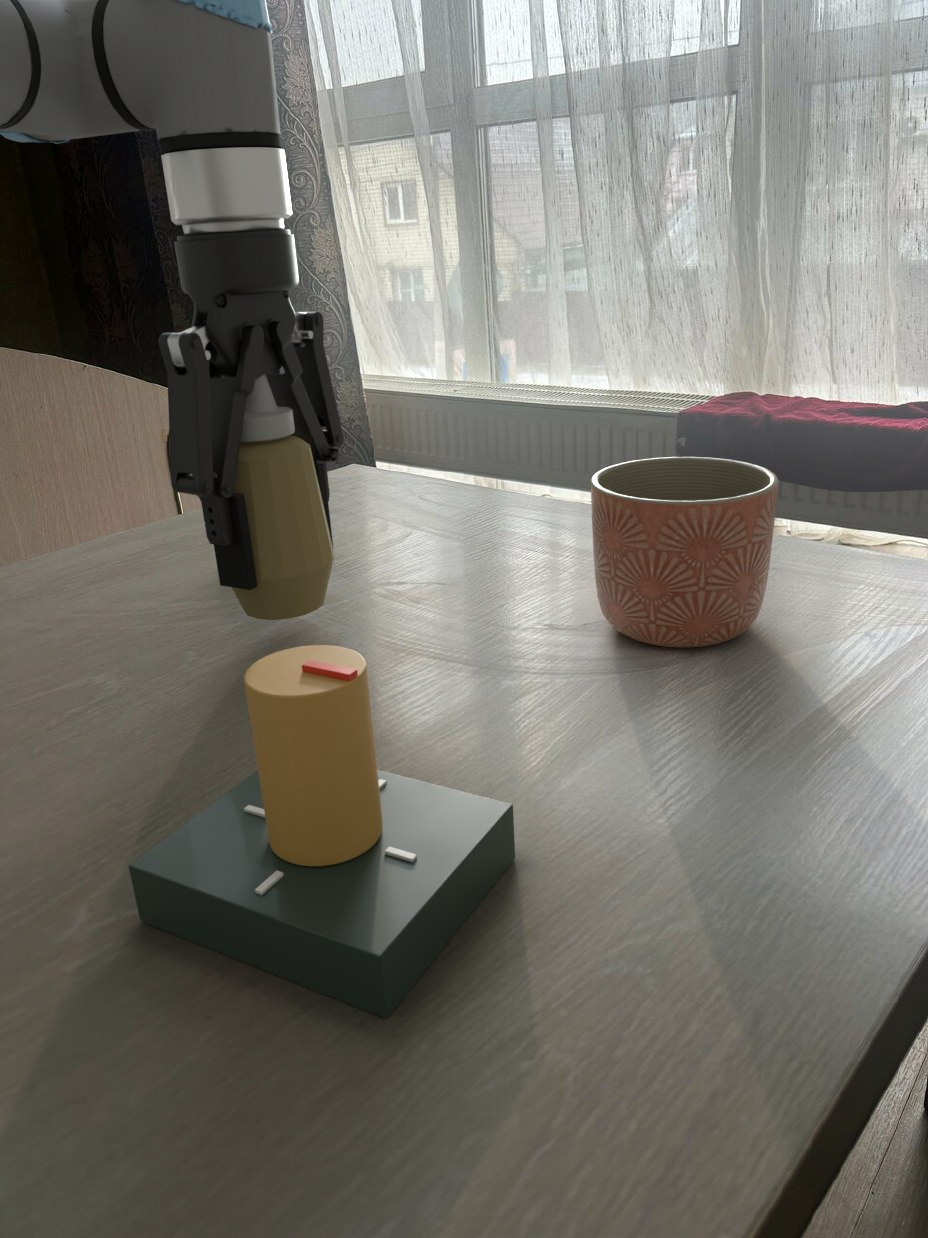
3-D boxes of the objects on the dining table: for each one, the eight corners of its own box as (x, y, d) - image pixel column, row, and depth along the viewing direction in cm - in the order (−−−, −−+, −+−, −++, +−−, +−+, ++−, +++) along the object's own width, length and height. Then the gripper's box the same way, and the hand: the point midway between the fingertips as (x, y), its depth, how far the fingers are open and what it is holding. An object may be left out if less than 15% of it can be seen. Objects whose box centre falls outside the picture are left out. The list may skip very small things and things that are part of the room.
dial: (245, 849, 42) (216, 676, 39) (315, 791, 46) (294, 630, 43) (339, 880, 40) (316, 698, 36) (404, 816, 44) (388, 648, 40)
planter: (558, 617, 72) (555, 474, 68) (689, 584, 77) (694, 448, 73) (663, 678, 62) (667, 513, 58) (806, 634, 67) (820, 480, 63)
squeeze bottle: (348, 617, 69) (319, 357, 62) (233, 636, 67) (189, 369, 60) (330, 582, 76) (302, 345, 69) (225, 598, 74) (186, 356, 67)
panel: (140, 921, 43) (126, 862, 41) (295, 796, 51) (288, 744, 50) (387, 1020, 36) (379, 953, 35) (515, 858, 45) (513, 801, 44)
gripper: (289, 225, 72) (324, 521, 80) (58, 237, 55) (133, 609, 63) (374, 220, 68) (400, 530, 77) (154, 230, 51) (219, 625, 60)
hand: (279, 565), depth 70 cm, fingers closed on squeeze bottle, 8 cm apart
